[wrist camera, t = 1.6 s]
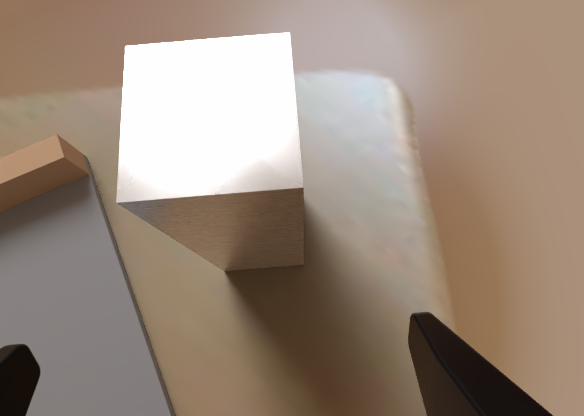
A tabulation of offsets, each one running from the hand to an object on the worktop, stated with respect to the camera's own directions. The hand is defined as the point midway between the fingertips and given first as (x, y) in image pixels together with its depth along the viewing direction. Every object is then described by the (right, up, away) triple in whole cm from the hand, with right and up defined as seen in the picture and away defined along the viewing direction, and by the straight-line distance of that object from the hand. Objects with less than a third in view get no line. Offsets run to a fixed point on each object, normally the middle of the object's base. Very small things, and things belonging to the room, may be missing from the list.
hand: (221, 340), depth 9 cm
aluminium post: (0, +2, +13) cm, 13 cm away
